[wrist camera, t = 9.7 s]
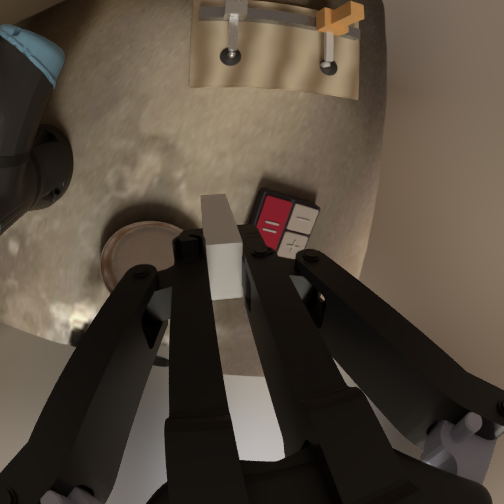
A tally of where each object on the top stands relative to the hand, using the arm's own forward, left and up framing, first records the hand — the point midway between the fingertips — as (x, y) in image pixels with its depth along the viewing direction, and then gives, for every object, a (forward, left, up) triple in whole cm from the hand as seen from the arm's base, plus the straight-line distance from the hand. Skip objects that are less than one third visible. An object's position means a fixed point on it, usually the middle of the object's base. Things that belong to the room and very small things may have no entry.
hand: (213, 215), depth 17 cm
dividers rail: (+12, +20, -27) cm, 35 cm away
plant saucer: (-10, -20, -29) cm, 37 cm away
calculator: (+13, -15, -29) cm, 35 cm away
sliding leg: (+19, +20, -26) cm, 38 cm away
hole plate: (+12, +19, -28) cm, 36 cm away
